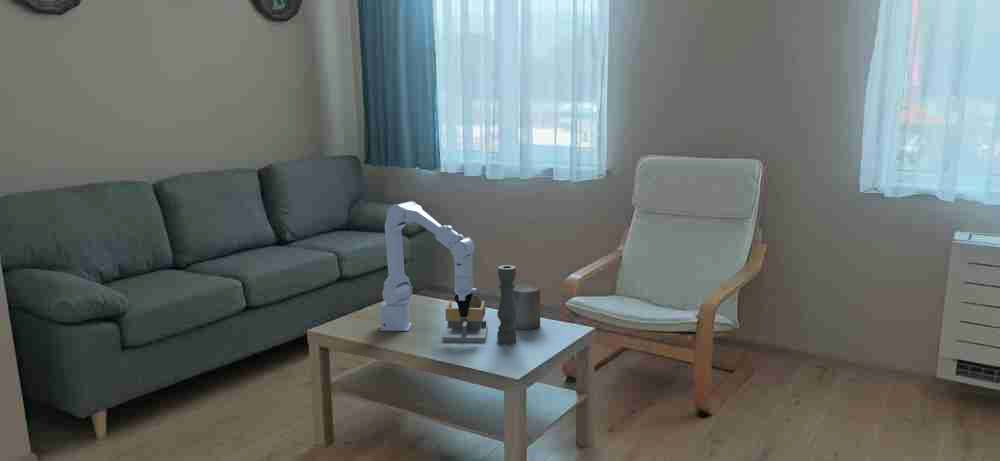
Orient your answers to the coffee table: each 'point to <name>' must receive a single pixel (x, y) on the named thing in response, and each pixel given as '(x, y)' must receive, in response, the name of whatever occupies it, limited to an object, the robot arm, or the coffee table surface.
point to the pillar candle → (527, 306)
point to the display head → (465, 331)
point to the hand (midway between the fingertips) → (464, 316)
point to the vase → (476, 303)
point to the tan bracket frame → (473, 315)
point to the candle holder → (506, 305)
